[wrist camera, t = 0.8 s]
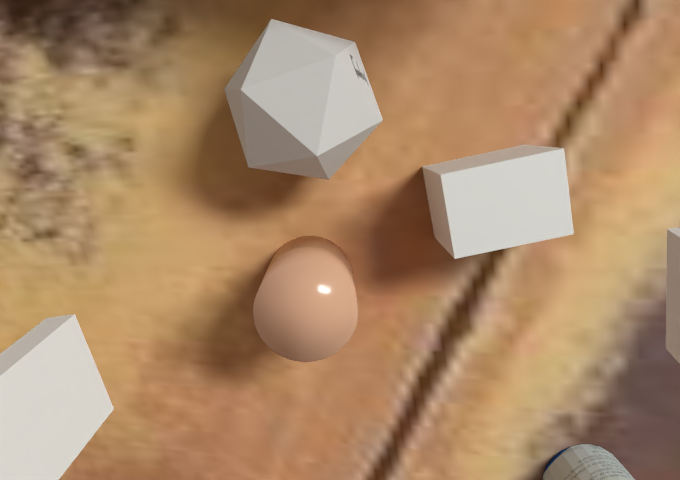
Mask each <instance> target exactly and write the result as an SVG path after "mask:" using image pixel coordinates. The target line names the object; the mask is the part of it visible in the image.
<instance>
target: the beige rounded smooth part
mask: <svg viewBox="0 0 680 480" xmlns="http://www.w3.org/2000/svg"><path fill="white" fill-rule="evenodd" d="M253 318H254V323H255V327H256V330H257V332H258V334H259V336H260V337H261V339H262V340H263V342H264V343H265V344H266V345H267V346H268V347H269V348H270V349H271V350H273V351H274V352H275V353H277V354H279V355H280V356H282V357H285V358H287V359H290V360H294V361H300V362H311V361H318V360H322V359H325V358H327V357H329V356H331V355H333V354H335V353H336V352H338V351H339V350H340V349H342V348H343V347H344V346H345V345H346V344H347V342H348V341H349V340H350V338H351V337H352V335H353V333H354V331H355V328H356V325H357V320H358V304H357V298H356V291H355V284H354V278H353V271H352V267H351V264H350V261H349V259H348V257H347V256H346V254H345V253H344V252H343V250H342V249H341V248H340V247H338V246H337V245H336V244H335V243H333V242H331V241H329V240H327V239H324V238H321V237H316V236H304V237H299V238H296V239H293V240H291V241H289V242H287V243H286V244H284V245H283V246H282V247H281V248H280V249H279V250H278V251H277V252H276V253H275V255H274V256H273V258H272V260H271V262H270V264H269V267H268V269H267V271H266V274H265V276H264V278H263V280H262V283H261V285H260V287H259V290H258V292H257V294H256V297H255V300H254V305H253Z"/></svg>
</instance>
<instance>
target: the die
mask: <svg viewBox="0 0 680 480" xmlns="http://www.w3.org/2000/svg"><path fill="white" fill-rule="evenodd" d="M224 90H225V94H226V97H227V100H228V103H229V107H230V110H231V113H232V116H233V119H234V123H235V126H236V129H237V132H238V136H239V139H240V142H241V145H242V149H243V152H244V155H245V158H246V162H247V165H248V167H249V168H255V169H262V170H268V171H275V172H282V173H288V174H295V175H301V176H308V177H314V178H321V179H327V180H329V179H330V178H331V177H332V176H333V174H334V173H335V172H336V171H337V170H338V169H339V168H340V167H341V166H342V165H343V163H344V162H345V161H346V160H347V159H348V158H349V157H350V156H351V155H352V154H353V152H354V151H355V150H356V149H357V148H358V147H359V146H360V145H361V144H362V143H363V141H364V140H365V139H366V138H367V137H368V136H369V135H370V134H371V133H372V132H373V130H374V129H375V128H376V127H377V126H378V125H379V124H380V123H381V122H382V121H383V119H382V116H381V113H380V111H379V108H378V105H377V102H376V99H375V97H374V94H373V91H372V88H371V85H370V83H369V80H368V77H367V74H366V71H365V69H364V66H363V63H362V60H361V57H360V55H359V52H358V49H357V46H356V43H355V42H354V41H350V40H346V39H343V38H339V37H336V36H332V35H328V34H325V33H321V32H317V31H314V30H310V29H307V28H303V27H299V26H296V25H292V24H289V23H285V22H281V21H278V20H274V19H271V20H270V22H269V23H268V25H267V26H266V28H265V29H264V31H263V32H262V34H261V35H260V36H259V38H258V39H257V41H256V42H255V44H254V45H253V47H252V48H251V50H250V51H249V53H248V54H247V56H246V57H245V59H244V60H243V62H242V63H241V65H240V66H239V68H238V69H237V71H236V72H235V74H234V75H233V77H232V78H231V80H230V81H229V83H228V84H227V86H226V87H225V89H224Z"/></svg>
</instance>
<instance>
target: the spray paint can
mask: <svg viewBox="0 0 680 480" xmlns="http://www.w3.org/2000/svg"><path fill="white" fill-rule="evenodd" d="M543 480H635V479H634V478H633V477H632V476H631V475H630V473H629V472H628V471H627V470H626V469H625V468H624V467H623V465H622V464H621V463H620V462H619V461H618V460H617V459H616V458H615V457H614V456H613V455H612V454H611V453H609V452H608V451H606V450H605V449H603V448H601V447H598V446H595V445H589V444H580V445H576V446H572V447H569V448H567V449H565V450H563V451H561V452H559V453H558V454H557V455H556V456H554V457H553V458H552V460H551V461H550V462H549V463H548V465H547V466H546V469H545V471H544V474H543Z"/></svg>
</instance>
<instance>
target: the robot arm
mask: <svg viewBox="0 0 680 480" xmlns="http://www.w3.org/2000/svg"><path fill="white" fill-rule="evenodd" d="M666 349H667V350H668V351H669V352H670V353H671V354H672V356H673V357H674V358H675V359H676V360H677V361H678V362H679V363H680V227H677V228H670V229H667V293H666ZM113 409H114V408H113V405H112V403H111V401H110V398H109V396H108V393H107V391H106V389H105V386H104V384H103V381H102V379H101V376H100V374H99V372H98V369H97V367H96V364H95V362H94V359H93V357H92V355H91V352H90V350H89V347H88V345H87V343H86V340H85V338H84V335H83V333H82V330H81V328H80V326H79V323H78V321H77V318H76V316H75V314H72V315H65V316H58V317H51V318H46V319H45V320H43V321H42V322H41V323H39V324H38V325H37V326H36V327H34V328H33V329H32V330H30V331H29V332H28V333H27V334H25V335H24V336H23V337H21V338H20V339H19V340H18V341H16V342H15V343H14V344H12V345H11V346H10V347H9V348H7V349H6V350H5V351H3V352H2V353H1V354H0V480H59V479H60V477H61V476H62V475H63V474H64V472H65V471H66V470H67V468H68V467H69V466H70V465H71V463H72V462H73V461H74V459H75V458H76V457H77V456H78V454H79V453H80V452H81V450H82V449H83V448H84V447H85V445H86V444H87V443H88V441H89V440H90V439H91V438H92V436H93V435H94V434H95V432H96V431H97V430H98V429H99V427H100V426H101V425H102V423H103V422H104V421H105V420H106V418H107V417H108V416H109V414H110V413H111V412H112V411H113Z"/></svg>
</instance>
